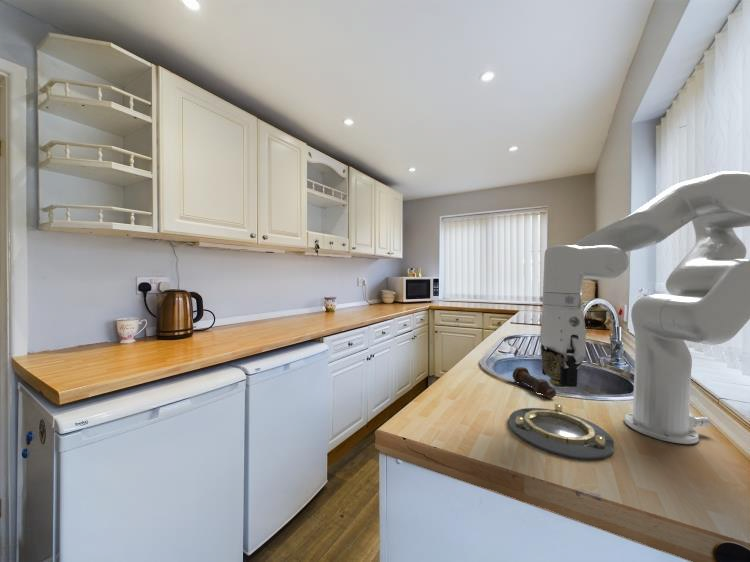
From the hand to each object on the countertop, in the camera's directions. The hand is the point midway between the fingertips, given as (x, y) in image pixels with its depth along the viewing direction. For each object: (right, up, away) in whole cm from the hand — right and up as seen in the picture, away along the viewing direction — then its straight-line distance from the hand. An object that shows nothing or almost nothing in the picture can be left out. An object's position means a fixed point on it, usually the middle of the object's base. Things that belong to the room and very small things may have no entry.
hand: (558, 379), depth 68 cm
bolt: (+8, -12, +26) cm, 30 cm away
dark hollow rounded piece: (0, -1, 0) cm, 1 cm away
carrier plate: (0, -12, 0) cm, 12 cm away
